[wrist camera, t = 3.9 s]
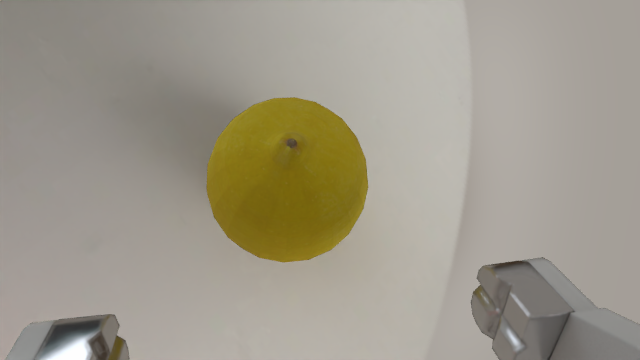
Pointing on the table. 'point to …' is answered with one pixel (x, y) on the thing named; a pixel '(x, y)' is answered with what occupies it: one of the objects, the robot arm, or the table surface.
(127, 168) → the table surface
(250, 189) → the fruit
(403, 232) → the table surface
